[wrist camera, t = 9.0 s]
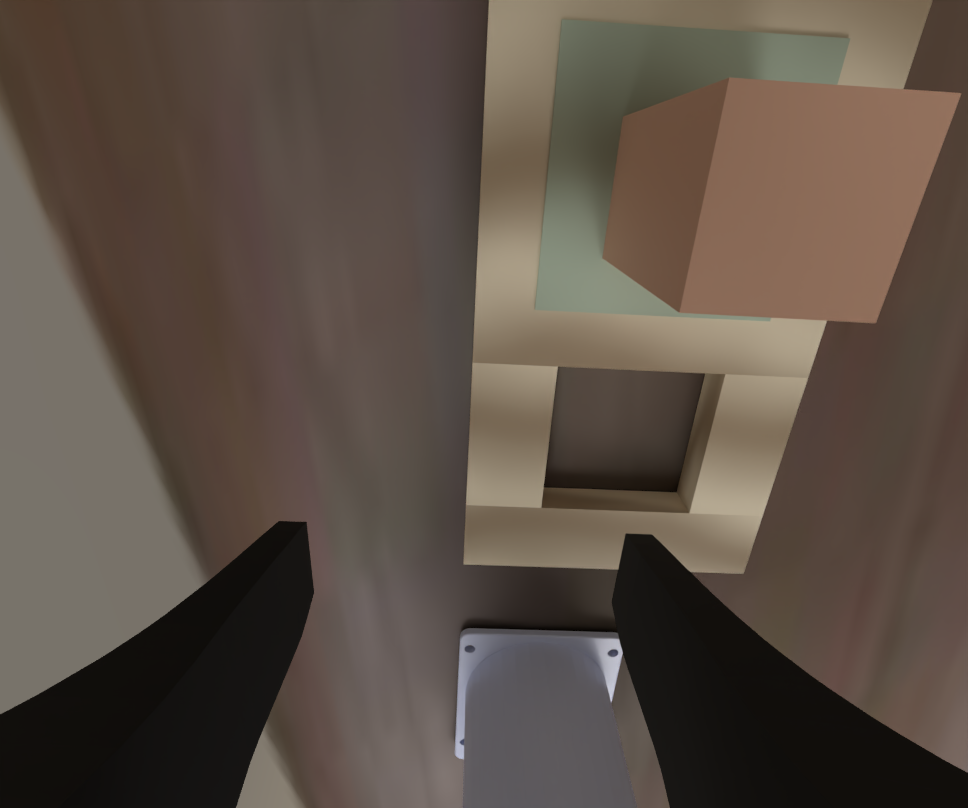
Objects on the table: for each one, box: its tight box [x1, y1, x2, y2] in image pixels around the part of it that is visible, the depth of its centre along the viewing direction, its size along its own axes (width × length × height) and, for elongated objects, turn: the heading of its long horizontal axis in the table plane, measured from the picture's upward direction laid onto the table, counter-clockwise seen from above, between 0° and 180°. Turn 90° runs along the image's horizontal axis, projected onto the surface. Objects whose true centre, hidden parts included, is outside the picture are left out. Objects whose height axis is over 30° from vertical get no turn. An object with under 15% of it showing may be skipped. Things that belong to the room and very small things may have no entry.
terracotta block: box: [602, 77, 961, 323], centre depth 13 cm, size 4×4×7 cm
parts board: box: [463, 0, 933, 574], centre depth 19 cm, size 20×12×2 cm, turn 177°
